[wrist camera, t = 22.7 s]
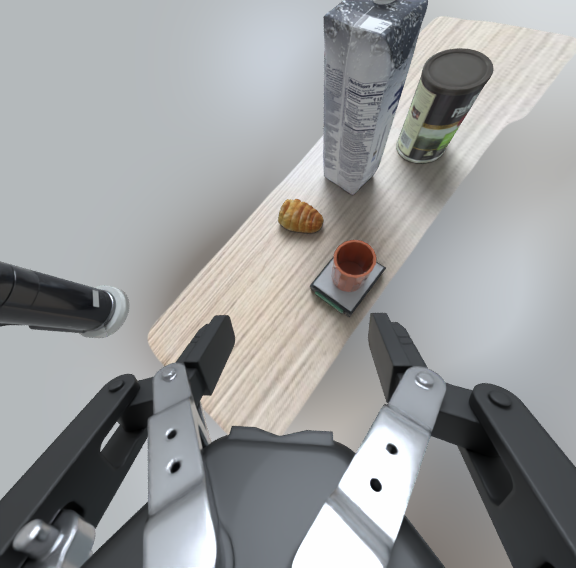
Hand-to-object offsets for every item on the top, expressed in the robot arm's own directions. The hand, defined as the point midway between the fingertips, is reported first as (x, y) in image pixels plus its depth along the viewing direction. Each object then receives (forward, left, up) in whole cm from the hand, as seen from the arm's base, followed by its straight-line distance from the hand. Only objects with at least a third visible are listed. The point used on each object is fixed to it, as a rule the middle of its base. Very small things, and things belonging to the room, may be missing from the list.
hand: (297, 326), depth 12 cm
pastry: (+13, +23, -29) cm, 39 cm away
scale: (+12, +6, -29) cm, 32 cm away
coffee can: (+45, +21, -29) cm, 58 cm away
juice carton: (+28, +25, -29) cm, 47 cm away
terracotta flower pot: (+12, +6, -26) cm, 29 cm away
